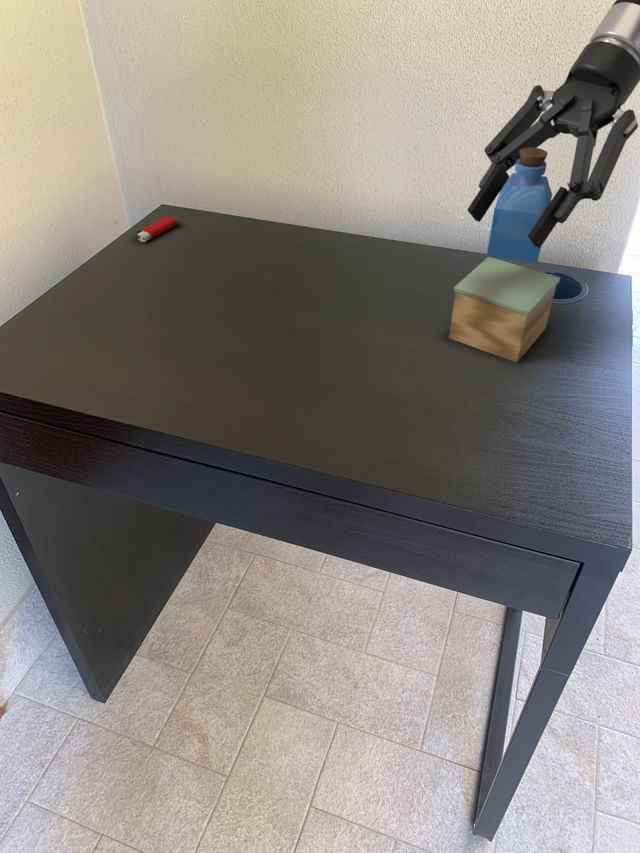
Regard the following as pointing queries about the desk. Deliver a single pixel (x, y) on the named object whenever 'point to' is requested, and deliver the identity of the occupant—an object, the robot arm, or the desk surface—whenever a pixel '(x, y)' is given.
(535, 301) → the pale green square pedestal
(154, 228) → the lighter
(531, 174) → the perfume bottle
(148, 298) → the desk surface
